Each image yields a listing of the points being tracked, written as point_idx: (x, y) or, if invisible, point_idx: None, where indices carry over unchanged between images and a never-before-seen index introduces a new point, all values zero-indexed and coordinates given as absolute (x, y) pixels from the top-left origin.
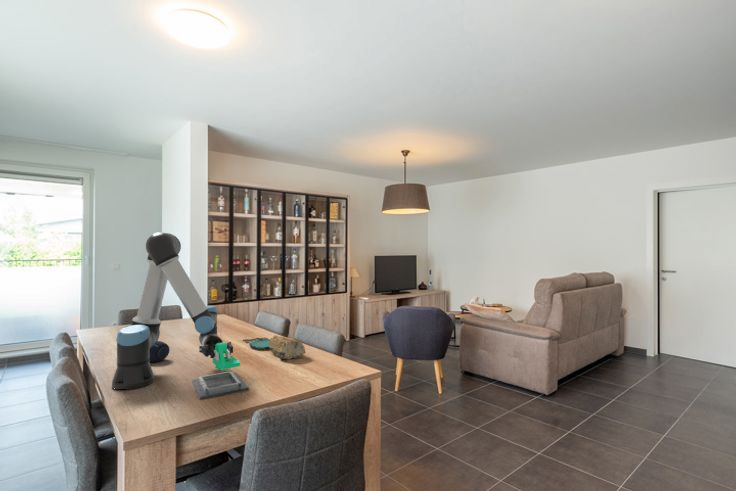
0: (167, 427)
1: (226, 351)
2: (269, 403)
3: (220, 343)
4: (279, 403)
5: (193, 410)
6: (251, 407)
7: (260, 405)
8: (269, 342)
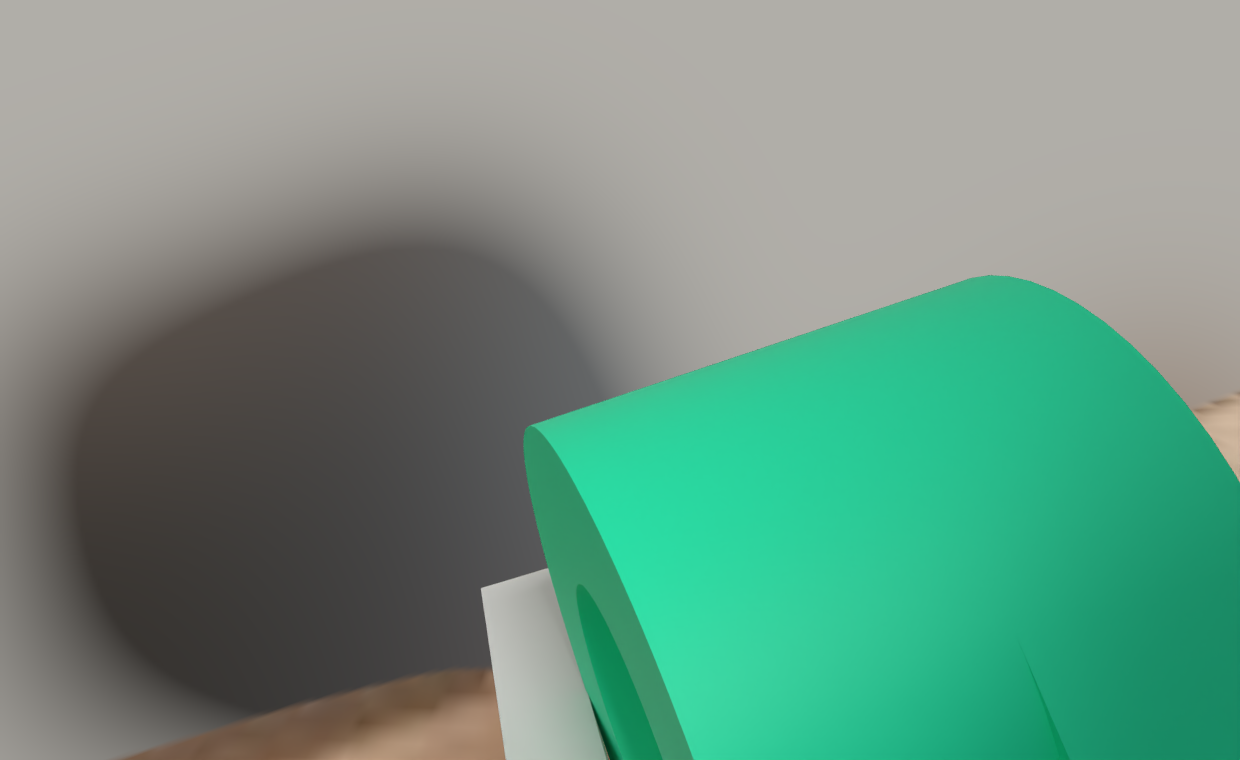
0: (1222, 437)
1: (610, 743)
2: (292, 750)
3: (821, 329)
4: (205, 744)
5: None
6: (489, 687)
7: (392, 718)
8: None
